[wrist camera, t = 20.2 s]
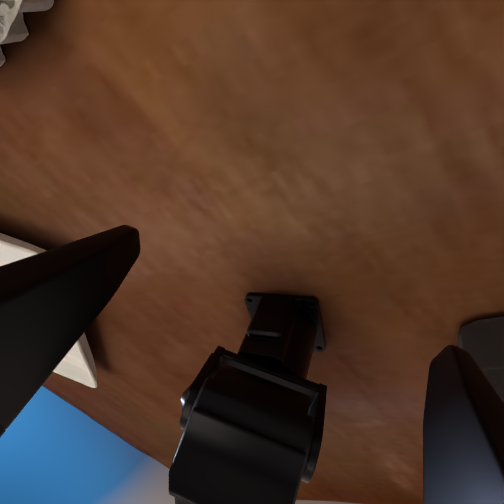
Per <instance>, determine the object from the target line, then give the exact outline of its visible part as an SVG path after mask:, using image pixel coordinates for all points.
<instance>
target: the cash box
mask: <svg viewBox="0 0 504 504" xmlns="http://www.w3.org/2000/svg"><path fill="white" fill-rule="evenodd" d="M458 344H459V347H460V348H463V349H465V350H467V351H468V352H469V353H470V355H471V356H472V357H473V359H474V360H475V362H476V363H477V365H478V366H479V368H480V369H481V371H482V372H483V374H484V375H485V377H486V378H487V379H488V381H489V382H490V384H491V385H492V387H493V388H494V390H495V391H496V393H497V394H498V396H499V397H500V399H501V400H502V401H503V403H504V316H501V317H495V318H488V319H481V320H476V321H474V322H472V323H469V324H467V325H465V326H463V327H461V331H460V336H459V341H458Z"/></svg>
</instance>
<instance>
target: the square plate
mask: <svg viewBox="0 0 504 504" xmlns="http://www.w3.org/2000/svg"><path fill="white" fill-rule="evenodd" d="M44 251H47V250H44V249H42V248H39V247H37V246H34V245H32V244H30V243H27V242H24V241H21V240H19V239H16V238H13V237H10V236H8V235H5V234H2V233H0V266H3V265H6V264H9V263H12V262H15V261H18V260H21V259H24V258H26V257H29V256H32V255H35V254H38V253H41V252H44ZM53 372H55V373H58V374H60V375H63V376H65V377H68V378H70V379H73V380H75V381H77V382H80V383H82V384H85V385H87V386H89V387H92V388H97V378H96V368H95V363H94V359H93V356H92V353H91V350H90V347H89V344H88V341H87V338H86V335H85V332H84V333H83V335H82V336H81V337H80V338H79V340H78V341H77V342H76V343H75V345H74V346H73V347H72V348H71V350H70V351H69V352H68V353H67V354H66V356H65V357H64V358H63V359H62V361H61V362H60V363H59V364H58V366H57V367H56V368H55V369H54V371H53Z"/></svg>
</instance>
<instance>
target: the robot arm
mask: <svg viewBox="0 0 504 504" xmlns="http://www.w3.org/2000/svg"><path fill="white" fill-rule="evenodd" d="M139 254H140V239H139V231H138V230H137V229H136V228H133V227H130V226H128V225H122V226H119V227H116V228H113V229H110V230H107V231H104V232H101V233H98V234H95V235H92V236H89V237H86V238H83V239H80V240H77V241H74V242H71V243H68V244H65V245H62V246H59V247H56V248H53V249H50V250H47V251H44V252H41V253H38V254H35V255H32V256H29V257H26V258H24V259H21V260H18V261H15V262H12V263H9V264H6V265H3V266H0V437H1V436H2V434H3V433H4V432H5V429H7V428H8V427H9V425H10V424H11V423H12V422H13V420H14V419H15V418H16V417H17V415H18V414H19V413H20V412H21V410H22V409H23V408H24V406H25V405H26V404H27V403H28V402H29V400H30V399H31V398H32V397H33V396H34V394H35V393H36V392H37V390H38V389H39V388H40V387H41V386H42V384H43V383H44V382H45V381H46V379H47V378H48V377H49V376H50V374H51V373H52V372H53V371H54V369H55V368H56V367H57V366H58V364H59V363H60V362H61V361H62V359H63V358H64V357H65V356H66V354H67V353H68V352H69V351H70V350H71V348H72V347H73V346H74V345H75V343H76V342H77V341H78V340H79V338H80V337H81V336H82V335H83V333H84V332H85V331H86V330H87V328H88V327H89V326H90V325H91V323H92V322H93V321H94V320H95V318H96V317H97V316H98V315H99V313H100V312H101V311H102V310H103V308H104V307H105V306H106V305H107V303H108V302H109V301H110V300H111V298H112V297H113V296H114V294H115V293H116V291H117V290H118V288H119V286H120V285H121V283H122V282H123V280H124V279H125V277H126V275H127V274H128V272H129V271H130V269H131V267H132V266H133V264H134V263H135V261H136V260H137V258H138V256H139ZM250 298H251V299H250ZM245 302H246V305H247V308H248V311H249V314H250V317H251V319H252V320H251V322H250V324H249V327H248V329H247V333H246V335H245V337H244V339H243V342H242V344H241V346H240V349H239V351H238V354H236V353H233V352H231V351H228V350H225V348H223V347H221V346H218V347H217V349H216V350H215V352H214V353H212V354H211V355H210V356H209V358H208V360H207V361H206V363H205V364H204V366H203V368H202V369H201V371H200V372H199V374H198V375H197V377H196V378H195V380H194V381H193V383H192V384H191V385H190V386H189V387H188V388H187V389H186V390H185V392H184V393H183V395H182V397H181V403H182V406H183V409H182V415H181V418H180V428H181V429H183V430H184V432H183V435H182V438H181V440H180V443H179V446H178V449H177V451H176V454H175V457H174V460H173V463H172V465H171V467H170V470H169V494H170V495H172V496H174V497H175V504H295V501H296V497H297V494H298V490H299V486H300V482H301V480H302V481H304V482H307V483H308V482H310V480H311V478H312V475H313V473H314V470H315V467H316V463H317V460H318V456H319V452H320V447H321V442H322V436H323V426H324V415H325V404H326V392H327V386H326V385H323V384H317V383H314V382H311V381H309V380H306V377H307V373H308V369H309V364H310V360H311V356H312V352H313V351H324V350H325V347H326V343H325V337H324V331H323V325H322V319H321V313H320V307H319V301H318V300H317V299H316V298H314V297H306V296H290V295H275V294H259V293H248V294H247V295H246V297H245ZM423 488H424V504H504V403H503V401H502V400H501V399H500V397H499V396H498V394H497V393H496V391H495V390H494V388H493V387H492V385H491V384H490V382H489V381H488V379H487V378H486V377H485V375H484V374H483V372H482V371H481V369H480V368H479V366H478V365H477V363H476V362H475V360H474V359H473V357H472V356H471V355H470V353H469V352H468V351H467V350H465V349H463V348H460V347H457V346H454V345H448V346H447V347H445V348H444V349H443V350H442V351H441V352H440V353H439V354H438V355H437V356H436V357H435V358H434V359H433V360H432V362H431V364H430V367H429V375H428V384H427V392H426V401H425V409H424V420H423Z"/></svg>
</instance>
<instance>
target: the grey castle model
mask: <svg viewBox="0 0 504 504" xmlns="http://www.w3.org/2000/svg"><path fill="white" fill-rule="evenodd" d="M53 3H54V0H0V44H6V43H12V42H20V41H23V40H24V39H26V37H27V36H28V35H29V33H28V30H27V27H26V25H25V23H24V21H23V12H37V11H46V10H48V9H50V8H51V7H52V6H53ZM5 61H6V59H5V56H4V55H3V53H2V49H1V45H0V67H1V66H2V65H3V64H4V62H5Z"/></svg>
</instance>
